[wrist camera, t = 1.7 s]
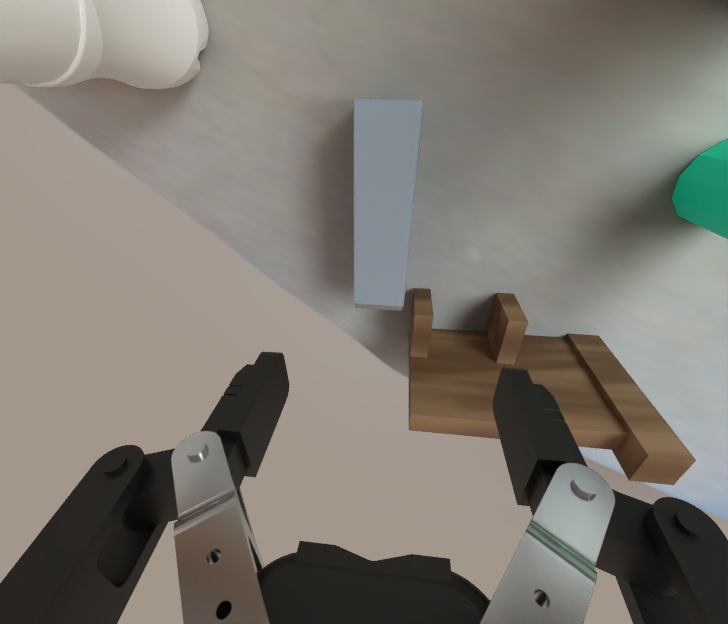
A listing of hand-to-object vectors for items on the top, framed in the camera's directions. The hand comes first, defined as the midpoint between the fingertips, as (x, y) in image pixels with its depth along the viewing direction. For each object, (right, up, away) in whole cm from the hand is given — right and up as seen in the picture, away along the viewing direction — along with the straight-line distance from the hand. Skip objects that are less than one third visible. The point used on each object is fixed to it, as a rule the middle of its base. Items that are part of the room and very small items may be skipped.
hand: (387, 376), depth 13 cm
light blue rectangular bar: (+1, +12, +15) cm, 19 cm away
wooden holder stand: (+12, +2, +20) cm, 23 cm away
